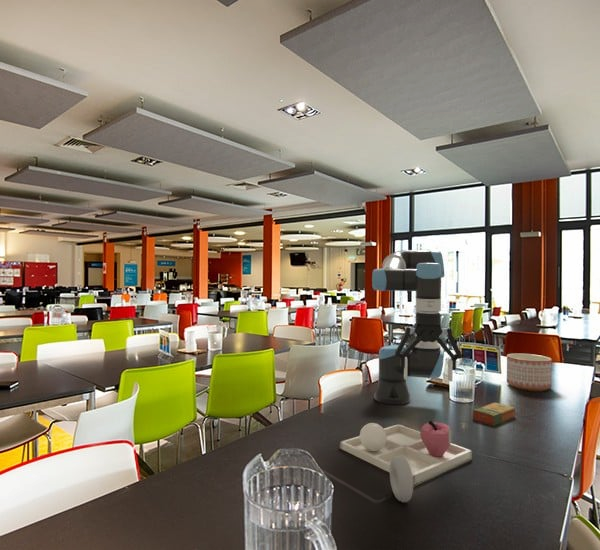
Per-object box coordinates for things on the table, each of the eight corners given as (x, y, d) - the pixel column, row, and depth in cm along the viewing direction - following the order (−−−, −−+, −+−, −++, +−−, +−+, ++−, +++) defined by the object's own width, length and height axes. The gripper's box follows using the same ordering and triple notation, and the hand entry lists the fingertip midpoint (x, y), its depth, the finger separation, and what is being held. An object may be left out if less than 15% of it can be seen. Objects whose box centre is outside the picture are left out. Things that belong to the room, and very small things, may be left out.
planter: (551, 385, 208) (552, 356, 208) (550, 394, 191) (550, 362, 191) (508, 380, 218) (509, 352, 218) (504, 388, 202) (504, 357, 202)
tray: (339, 450, 127) (340, 441, 127) (398, 431, 143) (398, 424, 143) (412, 486, 105) (412, 476, 105) (471, 459, 121) (471, 450, 121)
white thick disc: (387, 489, 103) (387, 448, 104) (401, 488, 104) (401, 448, 104) (400, 511, 94) (400, 466, 94) (415, 511, 94) (415, 466, 94)
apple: (446, 464, 117) (447, 428, 117) (416, 456, 121) (416, 422, 121) (455, 452, 125) (455, 418, 125) (426, 445, 129) (426, 413, 129)
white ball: (354, 449, 126) (354, 422, 126) (372, 443, 131) (372, 417, 131) (373, 458, 120) (373, 430, 120) (392, 451, 125) (392, 424, 125)
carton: (515, 418, 159) (515, 407, 159) (494, 427, 149) (494, 415, 149) (494, 412, 166) (494, 401, 166) (472, 420, 156) (472, 409, 156)
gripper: (388, 312, 129) (388, 381, 129) (473, 314, 126) (472, 384, 126) (386, 310, 136) (386, 374, 137) (466, 311, 133) (465, 377, 134)
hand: (427, 379), depth 132 cm, fingers open, 13 cm apart
